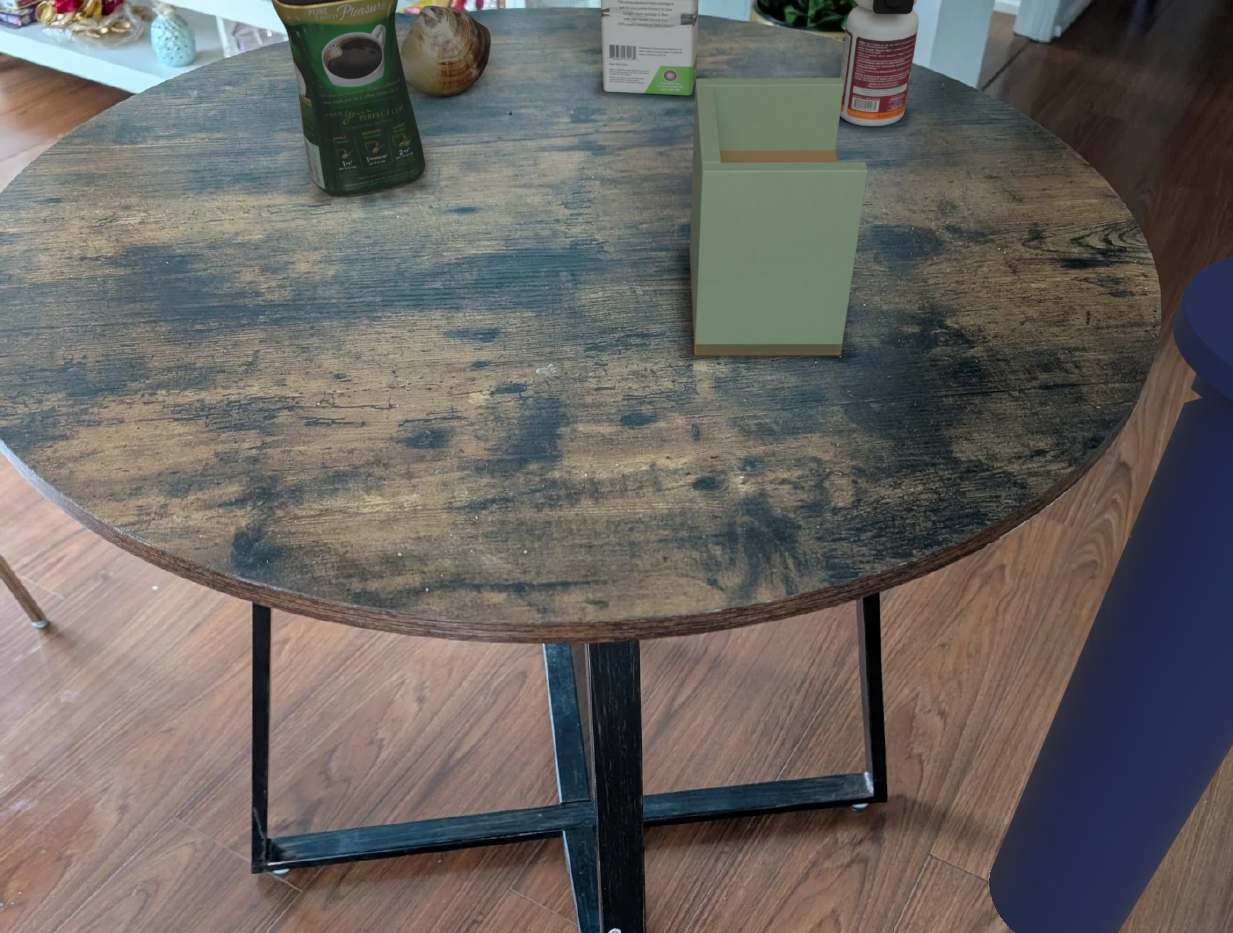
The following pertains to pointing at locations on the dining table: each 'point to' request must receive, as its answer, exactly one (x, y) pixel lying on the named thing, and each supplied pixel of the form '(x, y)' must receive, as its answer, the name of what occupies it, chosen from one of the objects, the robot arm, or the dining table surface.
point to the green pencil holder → (771, 217)
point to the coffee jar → (352, 94)
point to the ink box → (649, 46)
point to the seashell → (444, 51)
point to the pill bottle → (877, 65)
